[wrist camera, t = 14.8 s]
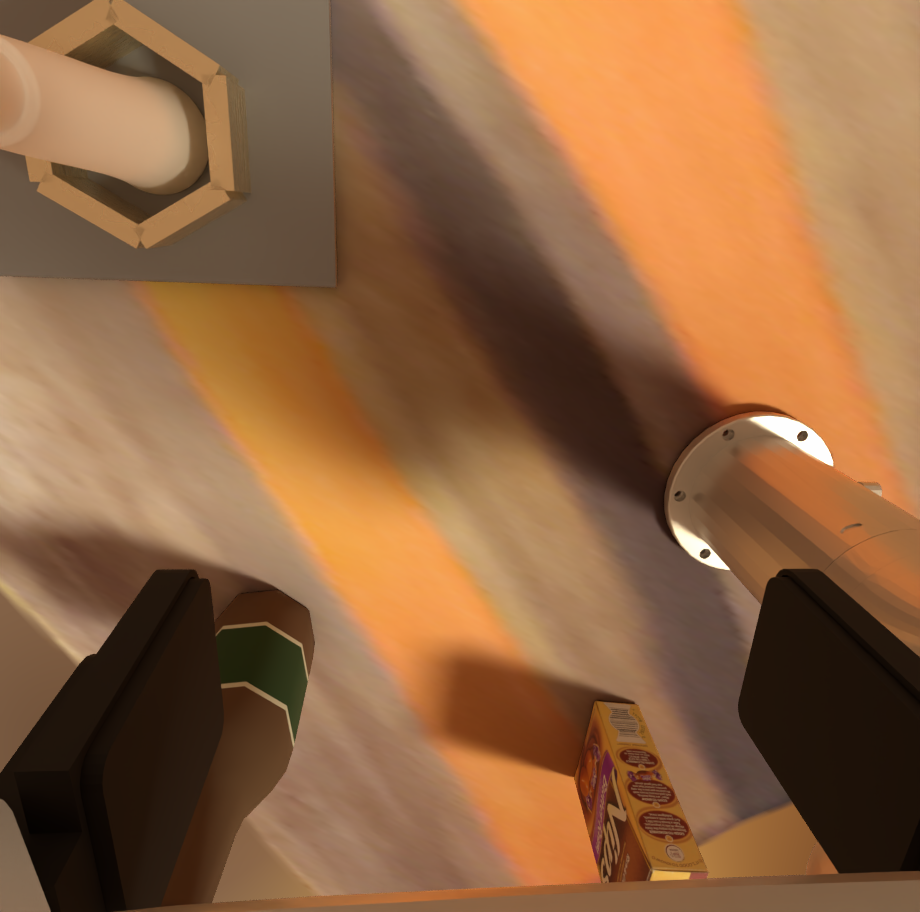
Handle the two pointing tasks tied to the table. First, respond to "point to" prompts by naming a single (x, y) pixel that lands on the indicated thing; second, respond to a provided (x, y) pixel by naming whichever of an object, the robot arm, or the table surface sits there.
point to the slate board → (270, 157)
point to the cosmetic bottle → (99, 119)
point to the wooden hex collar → (125, 29)
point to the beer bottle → (246, 731)
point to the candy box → (632, 802)
